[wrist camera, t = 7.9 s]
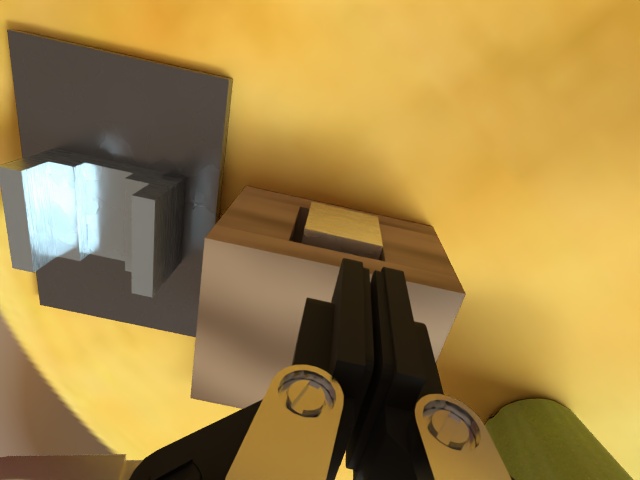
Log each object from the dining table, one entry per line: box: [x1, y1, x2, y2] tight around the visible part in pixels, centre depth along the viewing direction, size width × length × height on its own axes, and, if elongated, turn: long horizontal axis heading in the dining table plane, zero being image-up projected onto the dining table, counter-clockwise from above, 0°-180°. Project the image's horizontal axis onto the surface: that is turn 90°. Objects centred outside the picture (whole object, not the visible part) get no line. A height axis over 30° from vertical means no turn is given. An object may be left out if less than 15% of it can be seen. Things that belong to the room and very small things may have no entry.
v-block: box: [0, 30, 233, 337], centre depth 24 cm, size 18×12×5 cm, turn 168°
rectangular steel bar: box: [301, 202, 383, 260], centre depth 25 cm, size 18×4×4 cm, turn 168°
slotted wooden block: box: [191, 186, 466, 409], centre depth 23 cm, size 10×12×8 cm
